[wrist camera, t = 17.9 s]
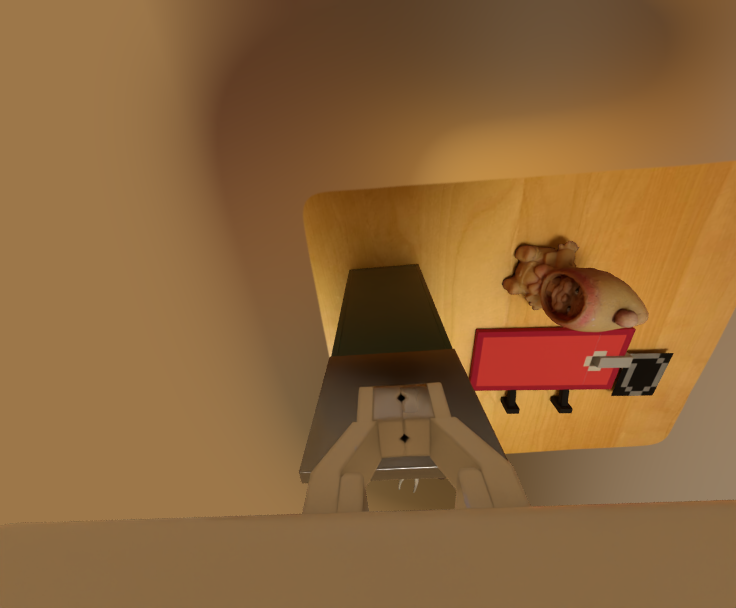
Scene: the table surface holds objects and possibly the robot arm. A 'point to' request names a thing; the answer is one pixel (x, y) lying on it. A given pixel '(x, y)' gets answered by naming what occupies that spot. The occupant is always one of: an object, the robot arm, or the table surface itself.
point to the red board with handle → (561, 363)
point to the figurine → (574, 290)
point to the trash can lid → (390, 370)
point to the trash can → (388, 313)
